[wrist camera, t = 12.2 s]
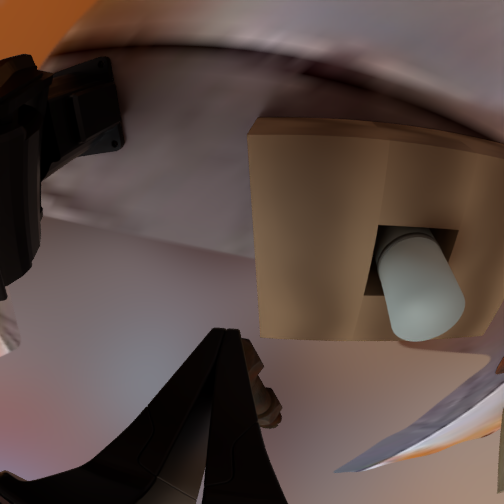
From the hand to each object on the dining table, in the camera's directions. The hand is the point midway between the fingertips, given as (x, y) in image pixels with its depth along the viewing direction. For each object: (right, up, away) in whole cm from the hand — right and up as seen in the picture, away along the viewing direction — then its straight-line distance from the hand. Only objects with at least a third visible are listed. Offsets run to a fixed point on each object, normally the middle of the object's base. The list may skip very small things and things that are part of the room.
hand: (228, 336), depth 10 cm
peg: (+10, +4, +10) cm, 15 cm away
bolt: (+1, -11, +24) cm, 26 cm away
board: (+10, +4, +10) cm, 15 cm away
